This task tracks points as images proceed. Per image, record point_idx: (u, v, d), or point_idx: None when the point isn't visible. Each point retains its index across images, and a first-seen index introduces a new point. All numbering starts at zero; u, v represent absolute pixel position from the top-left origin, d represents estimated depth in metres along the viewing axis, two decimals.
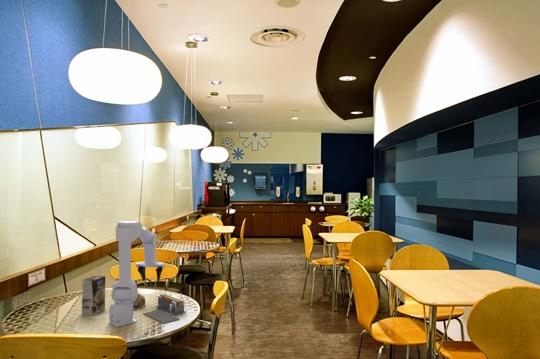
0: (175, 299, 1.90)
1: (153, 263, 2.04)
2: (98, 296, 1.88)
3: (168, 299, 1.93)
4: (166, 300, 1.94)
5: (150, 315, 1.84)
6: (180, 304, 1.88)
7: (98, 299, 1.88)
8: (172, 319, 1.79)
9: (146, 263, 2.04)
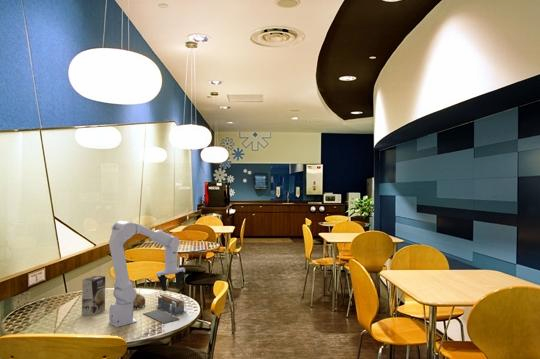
0: (175, 299, 1.90)
1: (177, 268, 1.94)
2: (98, 296, 1.88)
3: (168, 299, 1.93)
4: (166, 300, 1.94)
5: (150, 315, 1.84)
6: (180, 304, 1.88)
7: (98, 299, 1.88)
8: (172, 319, 1.79)
9: (172, 269, 1.91)
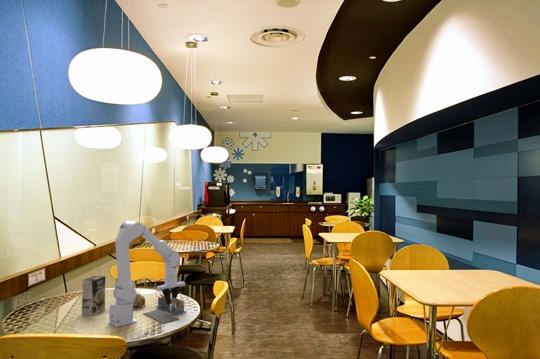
0: (175, 299, 1.90)
1: (177, 282, 1.94)
2: (98, 296, 1.88)
3: None
4: None
5: (150, 315, 1.84)
6: (180, 304, 1.88)
7: (98, 299, 1.88)
8: (172, 319, 1.79)
9: (172, 283, 1.91)
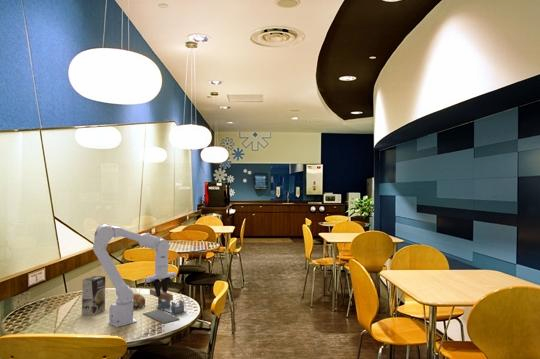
0: (165, 293, 1.81)
1: (167, 273, 1.84)
2: (98, 296, 1.88)
3: None
4: None
5: (150, 315, 1.84)
6: (170, 298, 1.78)
7: (98, 299, 1.88)
8: (172, 319, 1.79)
9: (162, 274, 1.81)
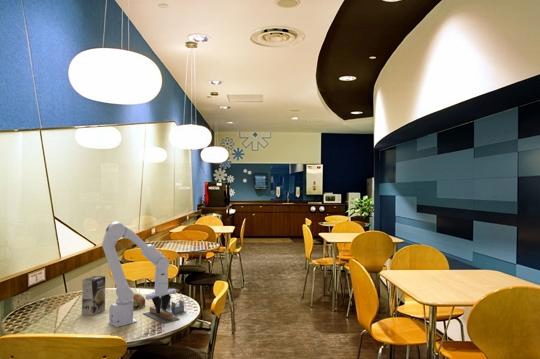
0: (165, 312, 1.81)
1: (167, 290, 1.84)
2: (98, 296, 1.88)
3: None
4: None
5: (150, 315, 1.84)
6: (170, 317, 1.78)
7: (98, 299, 1.88)
8: (172, 319, 1.79)
9: (162, 291, 1.81)
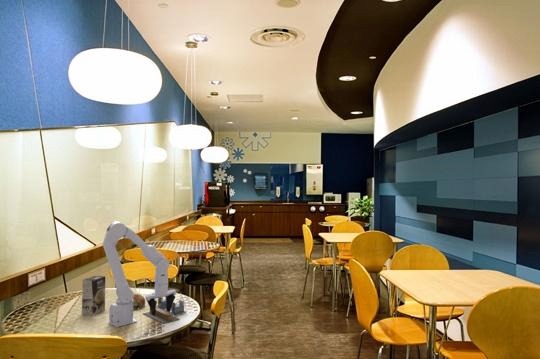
0: (165, 312, 1.81)
1: (167, 291, 1.84)
2: (98, 296, 1.88)
3: (158, 312, 1.83)
4: (156, 313, 1.84)
5: (150, 315, 1.84)
6: (170, 318, 1.78)
7: (98, 299, 1.88)
8: None
9: (162, 292, 1.81)
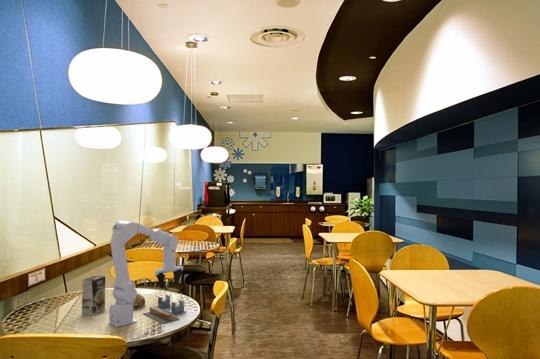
0: (165, 312, 1.81)
1: (175, 266, 1.96)
2: (98, 296, 1.88)
3: (158, 312, 1.83)
4: (156, 313, 1.84)
5: (150, 315, 1.84)
6: (170, 318, 1.78)
7: (98, 299, 1.88)
8: None
9: (170, 267, 1.93)
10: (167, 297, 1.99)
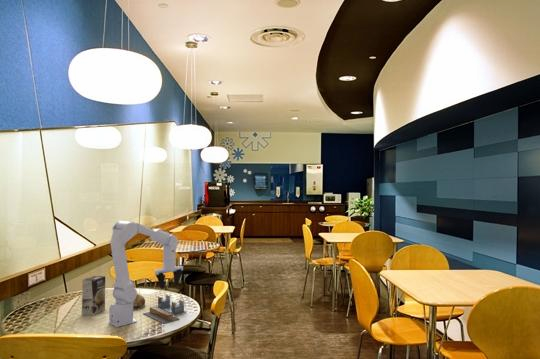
0: (165, 312, 1.81)
1: (175, 266, 1.96)
2: (98, 296, 1.88)
3: (158, 312, 1.83)
4: (156, 313, 1.84)
5: (150, 315, 1.84)
6: (170, 318, 1.78)
7: (98, 299, 1.88)
8: None
9: (170, 267, 1.93)
10: (167, 297, 1.99)
